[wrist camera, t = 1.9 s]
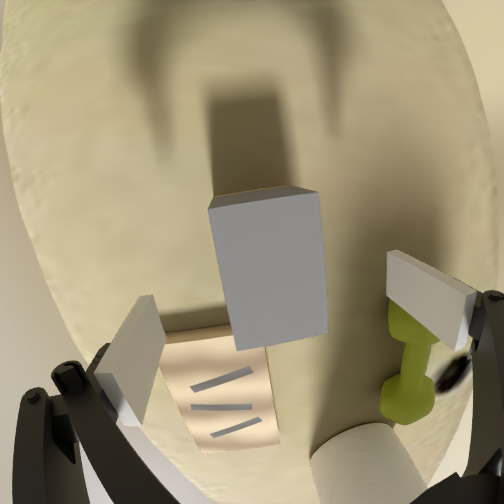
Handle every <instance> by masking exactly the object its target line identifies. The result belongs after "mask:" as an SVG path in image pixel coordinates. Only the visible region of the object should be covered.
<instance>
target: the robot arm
mask: <svg viewBox="0 0 504 504" xmlns="http://www.w3.org/2000/svg"><path fill="white" fill-rule="evenodd" d="M386 296H388V297H389V298H390V299H391V300H393V301H394V302H395V303H396V304H398V305H399V306H400V307H401V308H403V309H404V310H405V311H406V312H408V313H409V314H410V315H411V316H412V317H414V318H415V319H416V320H417V321H418V322H420V323H421V324H422V325H423V326H424V327H426V328H427V329H428V330H429V331H430V332H432V333H433V334H434V335H435V336H436V337H438V338H439V339H440V340H441V341H442V342H443V343H444V344H446V345H447V346H448V347H449V348H450V349H451V350H453V351H454V352H455V351H457V350H459V349H461V348H463V347H464V346H465V345H466V341H467V337H468V334H469V335H470V336H471V337H473V340H472V343H471V347H470V350H469V354H468V357H467V359H469V358H470V356H471V355H472V365H473V418H472V432H471V443H470V451H469V459H468V464H467V467H466V470H465V472H464V474H463V476H462V477H459V475H458V474H457V472H455V473H454V474H452V475H450V476H449V477H447V478H446V479H444V480H442V481H441V482H439V483H437V484H436V485H434V486H432V487H430V488H429V489H427V490H425V491H424V492H423V493H422V494H421V495H419V496H418V497H417V498H416V499H415V500H413V501H412V502H411V503H410V504H504V294H503V293H501V292H499V291H494V290H489V291H485V292H484V293H481V292H479V291H477V290H476V289H474V288H472V287H470V286H468V285H466V284H465V283H463V282H461V281H459V280H457V279H455V278H453V277H451V276H449V275H447V274H445V273H443V272H441V271H439V270H437V269H435V268H433V267H431V266H429V265H428V264H426V263H424V262H422V261H420V260H418V259H416V258H414V257H411V256H409V255H407V254H405V253H403V252H401V251H399V250H393V251H389V252H387V284H386ZM166 339H167V338H166V335H165V332H164V329H163V326H162V323H161V320H160V317H159V314H158V310H157V307H156V304H155V301H154V297H153V295H146V296H140V297H139V298H138V300H137V302H136V303H135V305H134V306H133V308H132V309H131V311H130V313H129V314H128V316H127V317H126V319H125V321H124V322H123V324H122V326H121V327H120V329H119V330H118V332H117V334H116V335H115V337H114V339H113V340H112V342H111V343H106V344H105V345H104V346H103V347H101V348H100V349H99V351H98V352H97V354H96V355H95V358H94V359H93V360H92V363H91V364H90V365H89V367H88V369H87V370H86V372H85V371H84V369H83V367H82V365H81V364H80V363H79V362H78V361H67V362H64V363H62V364H60V365H58V366H57V367H56V368H55V369H54V370H53V372H52V373H51V378H52V380H53V381H54V383H55V385H56V387H57V388H58V390H59V392H60V393H61V395H55V396H51V397H49V395H48V394H47V392H46V391H45V390H44V389H43V388H40V387H37V388H33V389H30V390H28V391H27V392H26V393H25V395H24V396H23V397H22V399H21V403H20V408H19V414H18V420H17V427H16V435H15V444H14V455H13V475H12V496H13V504H90V501H89V497H88V493H87V488H86V483H85V479H84V473H83V468H82V462H81V456H80V448H79V442H81V444H82V447H83V449H84V451H85V453H86V455H87V457H88V459H89V461H90V463H91V465H92V467H93V469H94V470H95V472H96V474H97V476H98V478H99V480H100V481H101V483H102V485H103V487H104V488H105V490H106V492H107V493H108V495H109V497H110V498H111V500H112V501H113V503H114V504H180V503H179V502H178V501H177V500H176V498H175V497H173V495H172V494H171V493H170V492H169V491H168V490H167V489H166V488H165V487H164V485H163V484H162V483H161V482H160V481H159V480H158V479H157V477H156V476H155V475H154V474H153V473H152V472H151V470H150V469H149V468H148V467H147V465H146V464H145V463H144V462H143V460H142V459H141V458H140V457H139V456H138V454H137V453H136V451H135V450H134V449H133V447H132V446H131V445H130V443H129V442H128V441H127V439H126V438H125V436H124V435H123V433H122V432H121V430H120V429H119V428H118V426H117V425H116V421H117V419H118V416H119V418H120V419H121V421H122V422H123V424H124V426H142V423H143V419H144V415H145V412H146V408H147V404H148V400H149V397H150V393H151V389H152V386H153V382H154V379H155V375H156V372H157V368H158V365H159V362H160V358H161V355H162V352H163V348H164V345H165V342H166Z"/></svg>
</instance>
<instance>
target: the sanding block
mask: <svg viewBox="0 0 504 504" xmlns="http://www.w3.org/2000/svg"><path fill="white" fill-rule="evenodd" d="M208 213H209V219H210V224H211V230H212V235H213V240H214V246H215V251H216V256H217V261H218V266H219V271H220V276H221V281H222V286H223V291H224V295H225V300H226V305H227V310H228V314H229V319H230V323H231V328H232V332H233V337H234V341H235V346H236V350H237V351H242V350H248V349H254V348H260V347H265V346H270V345H276V344H281V343H286V342H290V341H295V340H300V339H304V338H309V337H313V336H318V335H322V334H326V333H328V315H327V290H326V272H325V257H324V244H323V232H322V221H321V211H320V201H319V192H316V191H312V190H307V189H303V188H299V187H294V186H290V185H283V186H276V187H269V188H262V189H255V190H249V191H243V192H237V193H231V194H225V195H219V196H214V197H213V199H212V201H211V203H210V205H209V208H208Z"/></svg>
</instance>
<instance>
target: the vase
mask: <svg viewBox="0 0 504 504" xmlns="http://www.w3.org/2000/svg"><path fill="white" fill-rule="evenodd" d="M310 466H311V471H312V475H313V479H314V483H315V487H316V490H317V493H318V497H319V500H320V503H321V504H410V503H411V502H412V501H413V500H415V499H416V498H417V497H418V496H419V495H421V494H422V493H423V492H424V491H425V490H427V489H428V488H427V486H426V484H425V483H424V481H423V479H422V477H421V475H420V474H419V472H418V470H417V468H416V466H415V465H414V463H413V461H412V459H411V458H410V456H409V454H408V452H407V451H406V449H405V447H404V446H403V444H402V442H401V441H400V439H399V438H398V436H397V435H396V433H395V432H394V430H393V429H392V428H391V427H390V426H389V425H387V424H384V423H370V424H365V425H361V426H357V427H354V428H352V429H349V430H347V431H344V432H342V433H340V434H338V435H336V436H335V437H333V438H331V439H330V440H328V441H327V442H326V443H324V444H323V445H322V446H321V447H320V448H319V449H318V450H317V451H316V452H315V453H314V454H313V456H312V458H311V460H310Z"/></svg>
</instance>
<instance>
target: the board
mask: <svg viewBox="0 0 504 504" xmlns="http://www.w3.org/2000/svg"><path fill="white" fill-rule="evenodd" d="M165 335H166V338H167V339H166V342H165V345H164V348H163V352H162V355H161V358H160V362H159V367H160V369H161V372H162V374H163V376H164V379H165V381H166V383H167V386H168V388H169V390H170V392H171V394H172V397H173V399H174V401H175V403H176V405H177V407H178V409H179V411H180V413H181V415H182V417H183V419H184V421H185V423H186V425H187V427H188V429H189V431H190V433H191V435H192V437H193V438H194V440H195V442H196V444H197V446H198V448H199V449H200V451H201V453H215V452H226V451H236V450H244V449H251V448H258V447H264V446H270V445H276V444H280V439H279V433H278V427H277V421H276V415H275V409H274V402H273V396H272V390H271V384H270V378H269V372H268V366H267V360H266V354H265V348H264V347H260V348H254V349H248V350H242V351H237V350H236V346H235V341H234V337H233V332H232V328H231V324H227V325H220V326H214V327H207V328H200V329H193V330H186V331H178V332H170V333H165Z"/></svg>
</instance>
